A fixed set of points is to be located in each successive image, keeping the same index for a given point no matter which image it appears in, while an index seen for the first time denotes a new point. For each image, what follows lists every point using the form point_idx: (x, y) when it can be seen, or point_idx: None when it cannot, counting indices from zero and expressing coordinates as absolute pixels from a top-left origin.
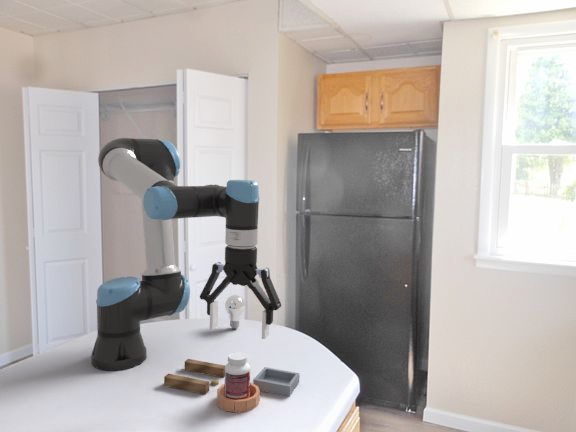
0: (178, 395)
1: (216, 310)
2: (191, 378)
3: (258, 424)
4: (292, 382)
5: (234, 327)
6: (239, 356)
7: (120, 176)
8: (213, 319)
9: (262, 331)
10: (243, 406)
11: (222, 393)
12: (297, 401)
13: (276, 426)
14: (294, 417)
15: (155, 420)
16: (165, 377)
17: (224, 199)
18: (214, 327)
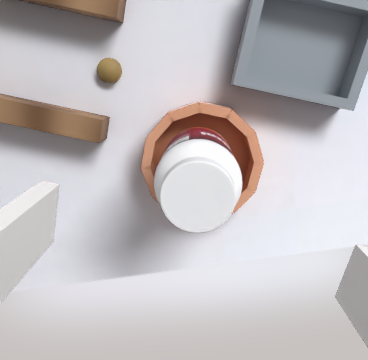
0: (40, 154)
1: (1, 253)
2: (42, 110)
3: (266, 247)
4: (362, 80)
5: None
6: (206, 201)
7: None
8: (27, 264)
9: (355, 323)
10: None
11: (154, 151)
12: (361, 132)
13: (308, 248)
14: (350, 208)
15: (43, 263)
16: None
17: None
18: (52, 222)
